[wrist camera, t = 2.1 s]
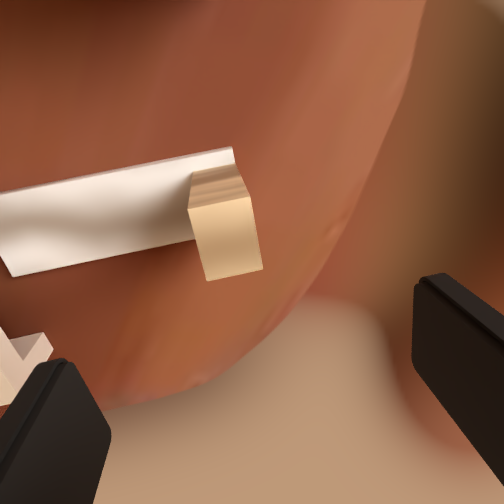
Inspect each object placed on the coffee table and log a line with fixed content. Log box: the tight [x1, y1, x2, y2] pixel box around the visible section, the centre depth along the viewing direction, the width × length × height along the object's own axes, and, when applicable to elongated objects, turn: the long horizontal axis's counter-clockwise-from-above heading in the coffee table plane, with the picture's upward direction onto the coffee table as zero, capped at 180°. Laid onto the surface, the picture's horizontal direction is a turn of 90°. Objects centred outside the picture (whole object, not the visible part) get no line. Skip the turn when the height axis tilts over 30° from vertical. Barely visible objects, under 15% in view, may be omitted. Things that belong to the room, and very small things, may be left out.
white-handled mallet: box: [0, 146, 263, 281], centre depth 21 cm, size 6×18×10 cm, turn 101°
